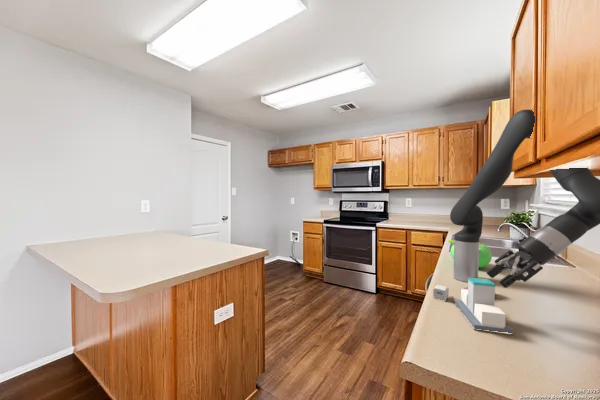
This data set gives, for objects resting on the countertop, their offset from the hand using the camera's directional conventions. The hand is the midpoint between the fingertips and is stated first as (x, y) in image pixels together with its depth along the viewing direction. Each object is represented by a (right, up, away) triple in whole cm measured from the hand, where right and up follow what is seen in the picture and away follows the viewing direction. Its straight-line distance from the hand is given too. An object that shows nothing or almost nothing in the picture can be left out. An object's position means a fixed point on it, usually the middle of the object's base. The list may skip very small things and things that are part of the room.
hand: (495, 280), depth 76 cm
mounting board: (-4, -12, +1) cm, 13 cm away
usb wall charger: (-7, -12, +17) cm, 22 cm away
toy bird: (+29, -11, +55) cm, 63 cm away
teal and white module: (-3, -10, +1) cm, 11 cm away
